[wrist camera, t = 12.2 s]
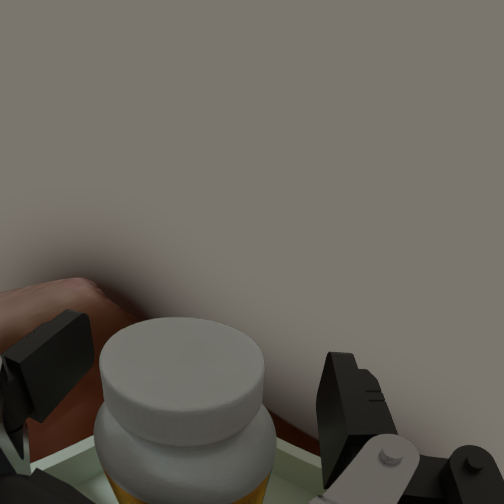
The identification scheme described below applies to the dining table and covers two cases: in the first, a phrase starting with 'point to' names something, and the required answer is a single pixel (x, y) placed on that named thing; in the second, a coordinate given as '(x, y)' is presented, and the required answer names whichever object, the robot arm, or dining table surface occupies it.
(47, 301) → the dining table surface
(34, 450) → the dining table surface
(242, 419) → the supplement bottle
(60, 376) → the robot arm
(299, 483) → the tray
